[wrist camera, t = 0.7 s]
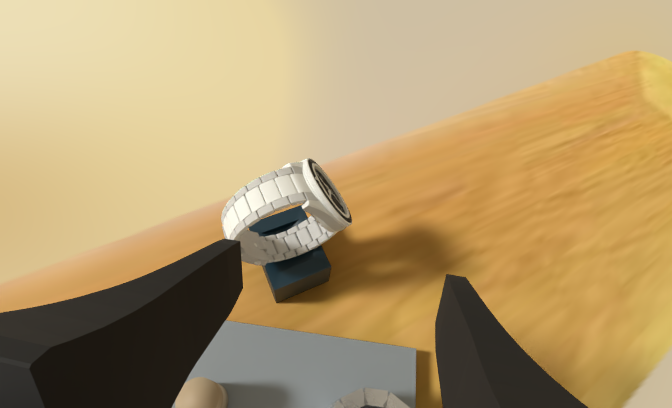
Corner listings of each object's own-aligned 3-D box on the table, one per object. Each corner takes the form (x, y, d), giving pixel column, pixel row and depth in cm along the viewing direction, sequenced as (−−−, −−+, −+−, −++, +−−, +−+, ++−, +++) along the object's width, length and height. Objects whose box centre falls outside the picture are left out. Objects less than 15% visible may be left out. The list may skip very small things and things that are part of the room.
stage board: (408, 509, 22) (414, 513, 21) (78, 461, 22) (66, 463, 21) (411, 351, 27) (416, 348, 26) (138, 311, 26) (131, 306, 25)
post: (222, 425, 22) (210, 425, 19) (187, 420, 22) (169, 419, 19) (232, 385, 24) (222, 380, 20) (198, 380, 24) (183, 374, 20)
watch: (350, 271, 29) (374, 200, 20) (253, 312, 27) (229, 255, 18) (321, 214, 32) (331, 128, 22) (230, 248, 30) (198, 167, 20)
